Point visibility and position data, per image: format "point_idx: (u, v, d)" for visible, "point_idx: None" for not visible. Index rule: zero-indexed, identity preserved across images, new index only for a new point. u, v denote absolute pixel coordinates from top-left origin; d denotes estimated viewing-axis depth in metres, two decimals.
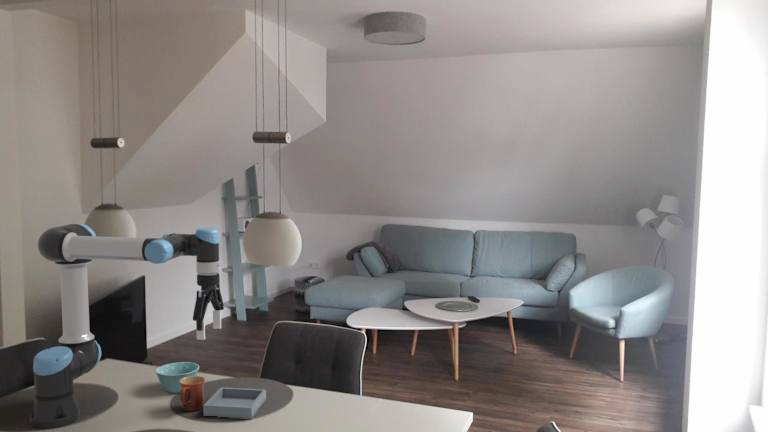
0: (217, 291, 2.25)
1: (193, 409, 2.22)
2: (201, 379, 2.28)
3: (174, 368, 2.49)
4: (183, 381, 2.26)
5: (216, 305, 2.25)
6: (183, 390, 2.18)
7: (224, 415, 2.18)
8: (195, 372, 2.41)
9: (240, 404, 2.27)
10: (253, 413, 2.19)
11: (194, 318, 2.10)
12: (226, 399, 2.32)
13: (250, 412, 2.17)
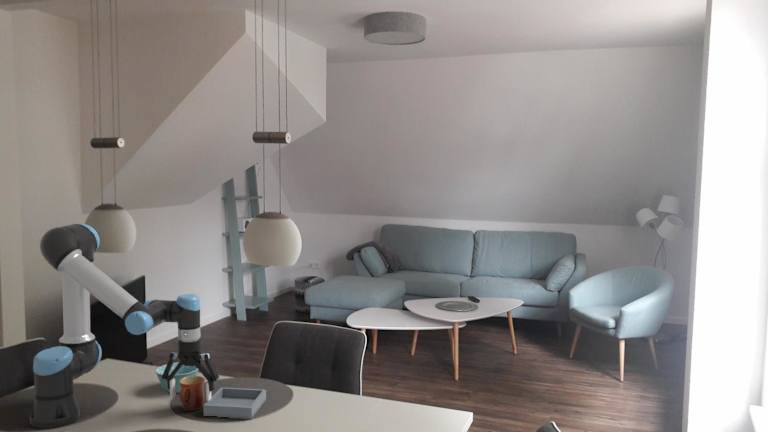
0: None
1: (193, 409, 2.22)
2: (201, 379, 2.28)
3: (174, 368, 2.49)
4: (183, 381, 2.26)
5: None
6: (183, 390, 2.18)
7: (224, 415, 2.18)
8: (195, 372, 2.41)
9: (240, 404, 2.27)
10: (253, 413, 2.19)
11: None
12: (226, 399, 2.32)
13: (250, 412, 2.17)
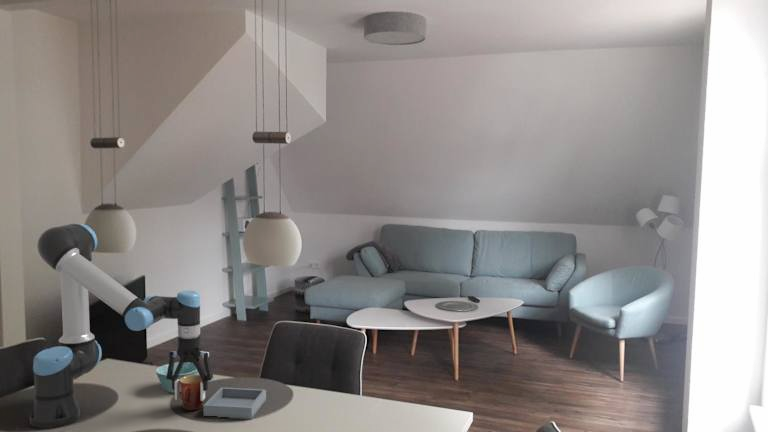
0: None
1: (193, 408, 2.22)
2: None
3: (174, 368, 2.49)
4: (183, 380, 2.26)
5: None
6: (184, 389, 2.18)
7: (224, 415, 2.18)
8: (195, 372, 2.41)
9: (240, 404, 2.27)
10: (253, 413, 2.19)
11: None
12: (226, 399, 2.32)
13: (250, 412, 2.17)
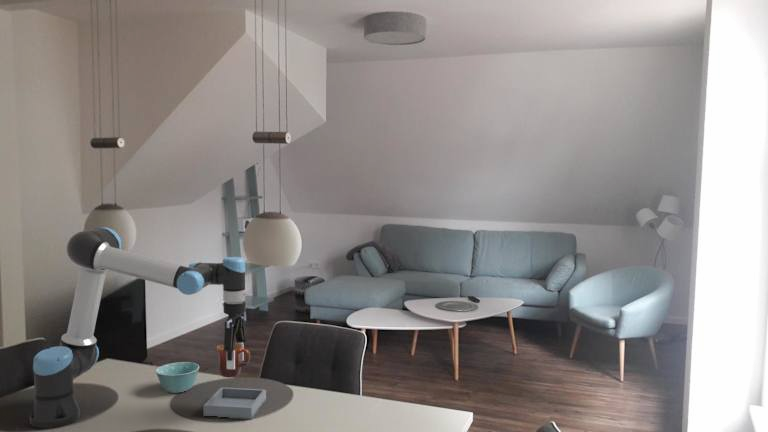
0: (241, 320, 2.28)
1: None
2: (223, 346, 2.27)
3: (174, 368, 2.49)
4: None
5: (239, 336, 2.28)
6: None
7: (224, 415, 2.18)
8: (195, 372, 2.41)
9: (240, 404, 2.27)
10: (253, 413, 2.19)
11: (225, 349, 2.16)
12: (226, 399, 2.32)
13: (250, 412, 2.17)
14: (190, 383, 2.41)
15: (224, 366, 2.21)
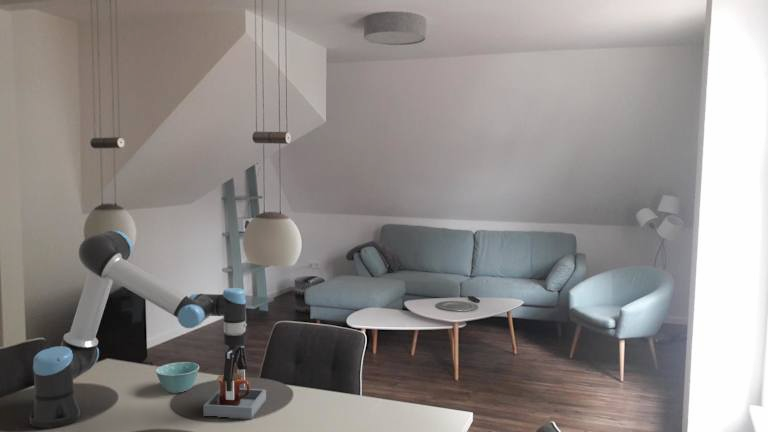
0: (242, 349, 2.30)
1: None
2: None
3: (174, 368, 2.49)
4: None
5: (240, 364, 2.30)
6: None
7: (224, 415, 2.18)
8: (195, 372, 2.41)
9: (240, 404, 2.27)
10: (253, 413, 2.19)
11: (224, 380, 2.16)
12: None
13: (250, 412, 2.17)
14: (190, 383, 2.41)
15: (224, 397, 2.22)
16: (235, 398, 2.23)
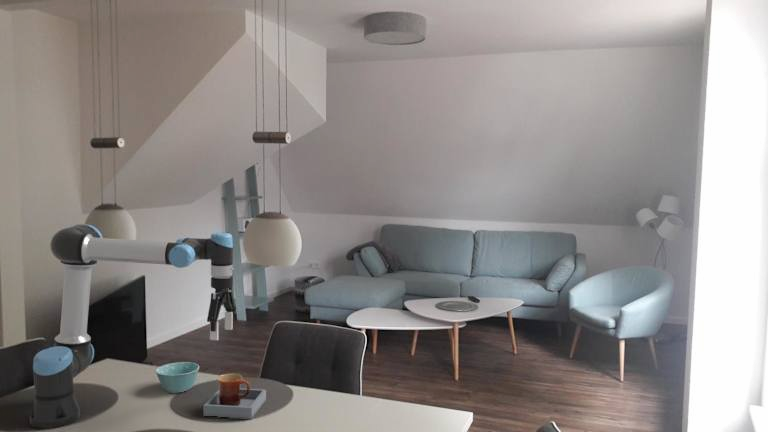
0: (229, 293, 2.33)
1: None
2: (223, 377, 2.28)
3: (174, 368, 2.49)
4: None
5: (228, 307, 2.34)
6: None
7: (224, 415, 2.18)
8: (195, 372, 2.41)
9: (240, 404, 2.27)
10: (253, 413, 2.19)
11: (208, 319, 2.18)
12: None
13: (250, 412, 2.17)
14: (190, 383, 2.41)
15: (224, 397, 2.22)
16: (235, 398, 2.23)
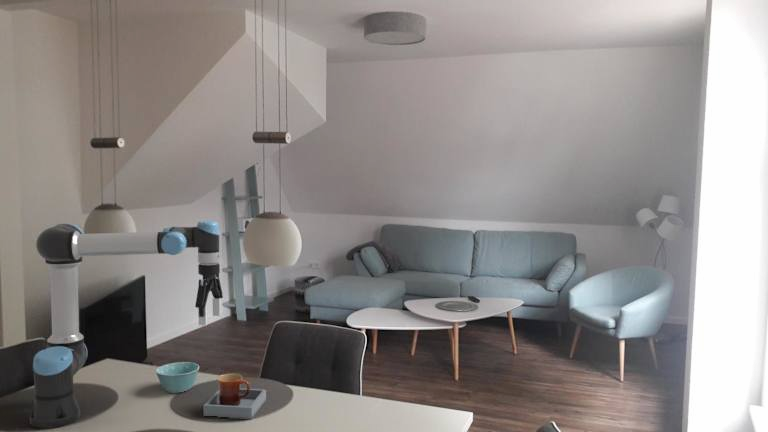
0: (217, 280, 2.39)
1: None
2: (223, 377, 2.28)
3: (174, 368, 2.49)
4: None
5: (216, 293, 2.39)
6: None
7: (224, 415, 2.18)
8: (195, 372, 2.41)
9: (240, 404, 2.27)
10: (253, 413, 2.19)
11: (197, 305, 2.24)
12: None
13: (250, 412, 2.17)
14: (190, 383, 2.41)
15: (224, 397, 2.22)
16: (235, 398, 2.23)
